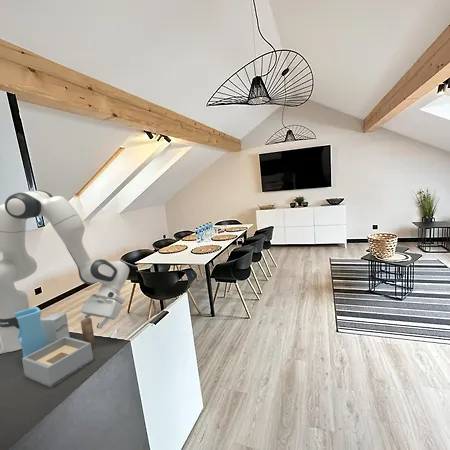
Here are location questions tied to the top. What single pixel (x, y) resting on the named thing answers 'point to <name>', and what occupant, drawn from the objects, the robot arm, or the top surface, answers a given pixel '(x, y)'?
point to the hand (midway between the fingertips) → (91, 326)
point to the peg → (88, 331)
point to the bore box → (57, 361)
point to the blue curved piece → (30, 330)
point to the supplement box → (55, 327)
